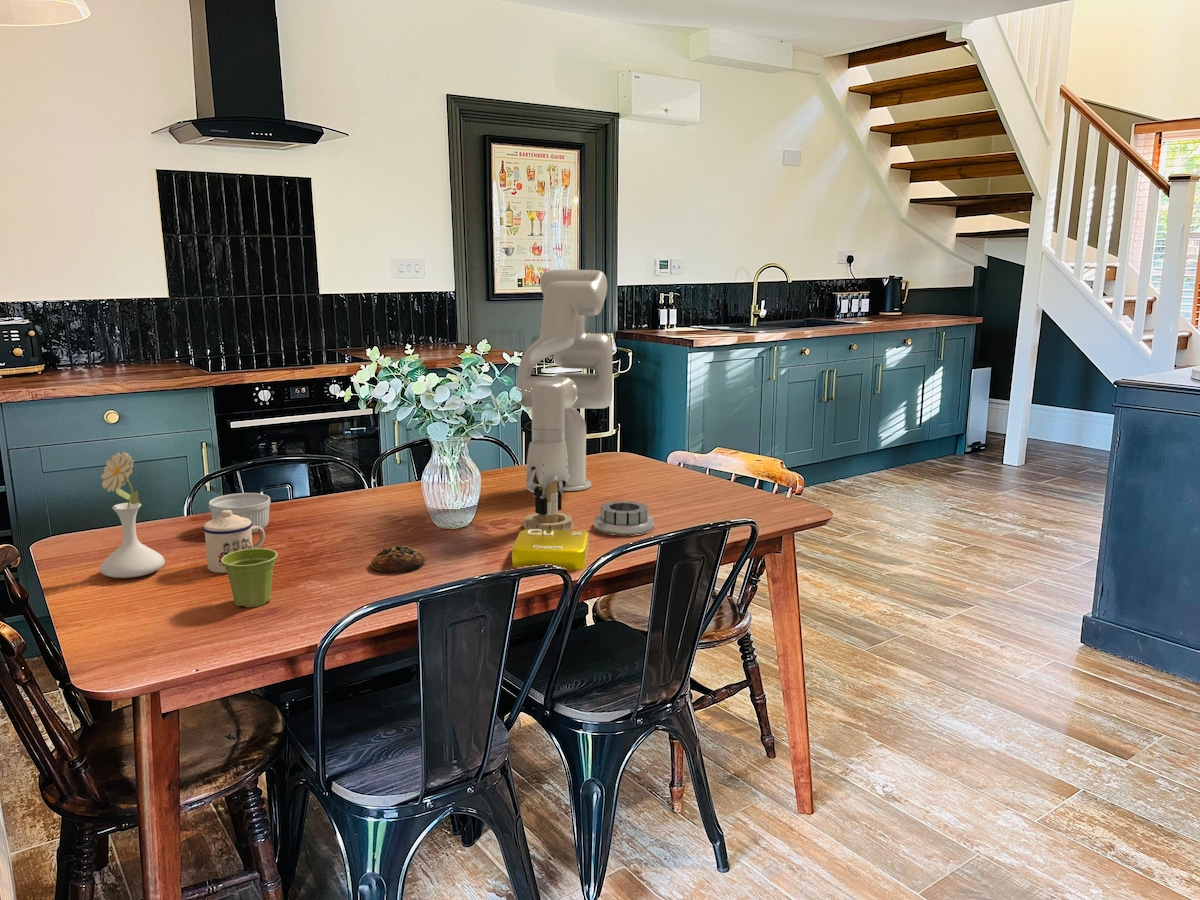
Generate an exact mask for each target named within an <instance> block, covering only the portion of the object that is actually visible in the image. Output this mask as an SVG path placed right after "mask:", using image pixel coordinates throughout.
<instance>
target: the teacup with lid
mask: <svg viewBox="0 0 1200 900" xmlns="http://www.w3.org/2000/svg"><path fill="white" fill-rule="evenodd" d="M221 514H222V515H221V516H218V517H217V518H215V519H214V520H212V519H211V520H209V521H207V522H205V524H204V525H203V528H202V530H203V532H204V539H205V553H206V563H207V569H208V571H210V572H213V573H216V574H228V573H227V571H226V569H225V566H224V564H222V562H221V559H222V557H223V556H225V555H227V554H229V553H231V552H235V551H239V550H244V549H252V548H261V547H262V545H263V543H265V538H266V533H265V529H262V528H261V527H259V526H252V523H251V521H250V520H249V519H248V518H244V517H240V516H238V515H234V514H232V511H231V510H224V511H222V513H221ZM252 530H259V531H258V533H259V538H258V541H257V542H256V543H255V544H254V545H253V533H252Z"/></svg>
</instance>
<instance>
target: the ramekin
mask: <svg viewBox="0 0 1200 900" xmlns="http://www.w3.org/2000/svg"><path fill="white" fill-rule="evenodd" d="M271 502H272V501H271V496H269V495H267V494H264V493H258V492H240V493H230V494H225V495H220V496H217V497H214V498H212V499H211V500H209V502H208V509H209V510H210V515H211V520H214V519H215V518H217V517H218V516H221V515H222V514H221V513H222V511H224V510H231V511H232V514H234V515H238V516H240V517H244V518H248V519H249V520H250V521H251V523H252V526H259V527H261V528H262V529H263V530H265V529H266V527H268V524H269V521H270V505H271ZM255 533H259V530H252V534H255Z"/></svg>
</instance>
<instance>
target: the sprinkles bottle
mask: <svg viewBox="0 0 1200 900" xmlns="http://www.w3.org/2000/svg"><path fill="white" fill-rule="evenodd" d="M556 480H558V478H557V475H555V477H554V479H553V481H554V482H553V483H552V484H549V485H547V487H546V494H545V498H547V514H546V515H542V514H539V523H558V522H557V513H558V512H559V510H558V491H557V490H558V488H557V487H558V486H557V481H556ZM539 490H540V491H541V487H539Z"/></svg>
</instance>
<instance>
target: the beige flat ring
mask: <svg viewBox="0 0 1200 900" xmlns="http://www.w3.org/2000/svg"><path fill="white" fill-rule="evenodd" d="M573 527H574V518H573V516H571V515H570V514H568V513H563V512H560V511H558V513H557V523H539V514H537V513H536V512H535V513H530V514H527V515H526V516H525V517H524V518H523V528H524V530H531V529H540V530H569V531H571V530H572V528H573Z"/></svg>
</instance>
